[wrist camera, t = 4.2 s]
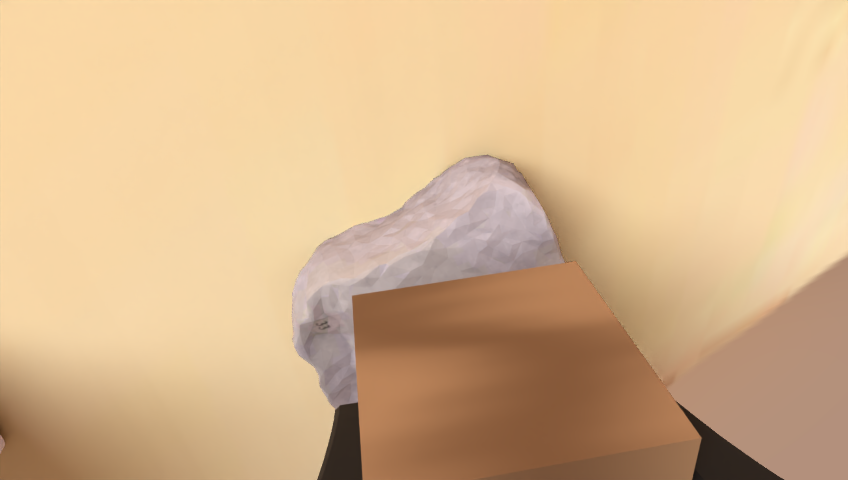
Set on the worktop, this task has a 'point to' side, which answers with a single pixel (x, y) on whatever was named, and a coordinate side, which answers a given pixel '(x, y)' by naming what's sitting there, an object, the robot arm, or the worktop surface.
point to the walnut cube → (510, 385)
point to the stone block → (417, 257)
